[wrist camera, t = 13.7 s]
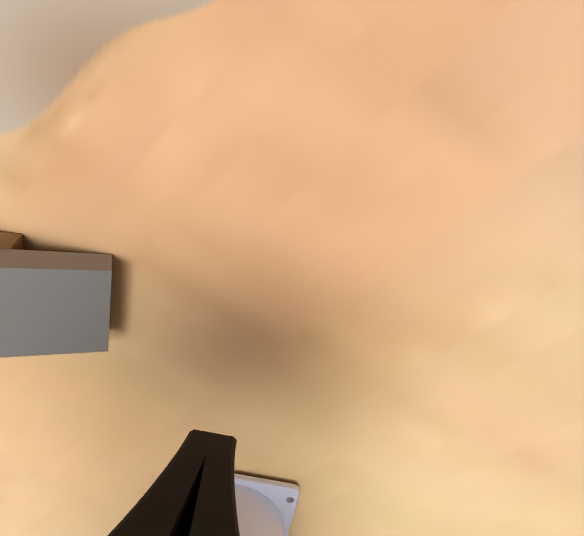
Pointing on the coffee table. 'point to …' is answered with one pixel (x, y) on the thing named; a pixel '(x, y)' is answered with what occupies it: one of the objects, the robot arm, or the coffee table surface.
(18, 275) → the tile
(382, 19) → the coffee table surface
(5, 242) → the tile
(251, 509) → the robot arm
